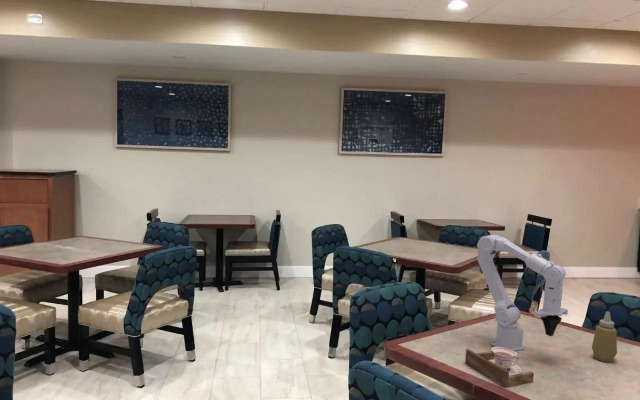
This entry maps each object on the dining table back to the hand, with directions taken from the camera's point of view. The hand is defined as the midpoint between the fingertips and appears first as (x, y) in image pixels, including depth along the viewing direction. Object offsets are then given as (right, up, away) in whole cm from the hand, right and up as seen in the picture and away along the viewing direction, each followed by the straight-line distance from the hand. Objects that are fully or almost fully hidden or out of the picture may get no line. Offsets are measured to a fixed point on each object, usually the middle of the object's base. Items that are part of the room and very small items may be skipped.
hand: (549, 335), depth 169 cm
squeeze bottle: (+22, -10, +4) cm, 25 cm away
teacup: (-20, -10, -8) cm, 23 cm away
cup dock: (-23, -9, -11) cm, 27 cm away
